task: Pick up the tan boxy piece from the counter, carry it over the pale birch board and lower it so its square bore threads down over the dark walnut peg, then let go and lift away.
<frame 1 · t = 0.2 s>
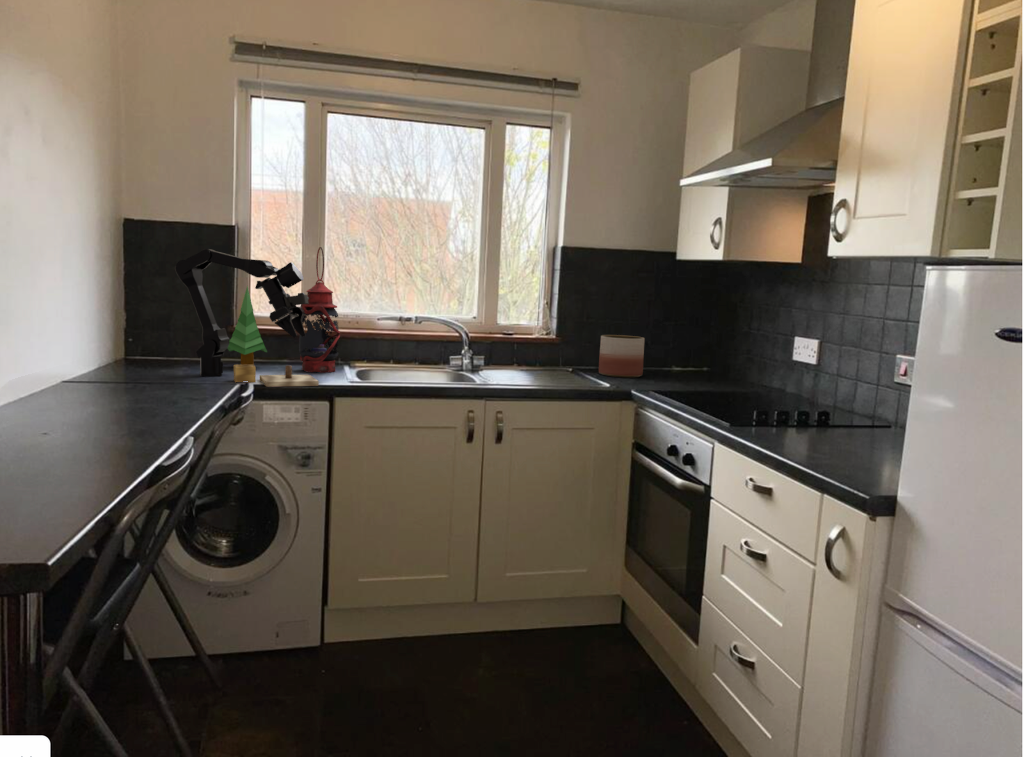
hand: (300, 336, 254), 15 cm above the countertop, tool tilted 30°, fingers open, 9 cm apart
decorative tree: (247, 368, 282), on the countertop
post board: (288, 382, 249), on the countertop
planter: (620, 375, 312), on the countertop
tan boxy piece: (244, 381, 248), on the countertop
lantern: (319, 371, 283), on the countertop
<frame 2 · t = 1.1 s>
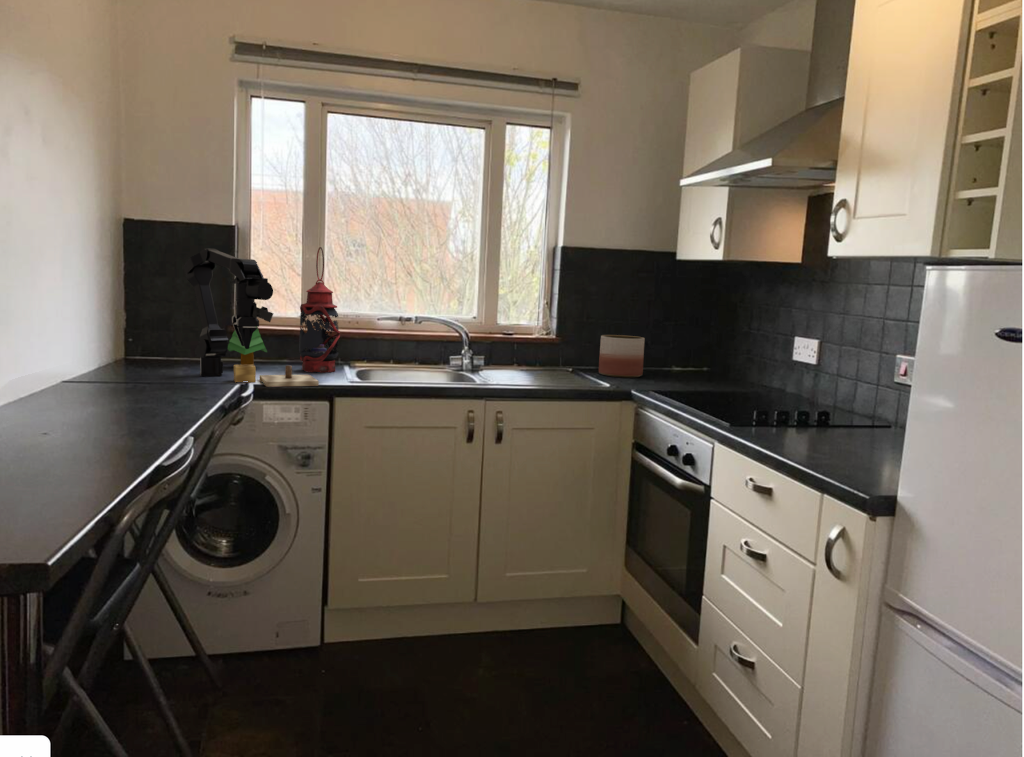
hand: (245, 347, 247), 11 cm above the countertop, tool pointing down, fingers open, 9 cm apart
nothing on the countertop moved.
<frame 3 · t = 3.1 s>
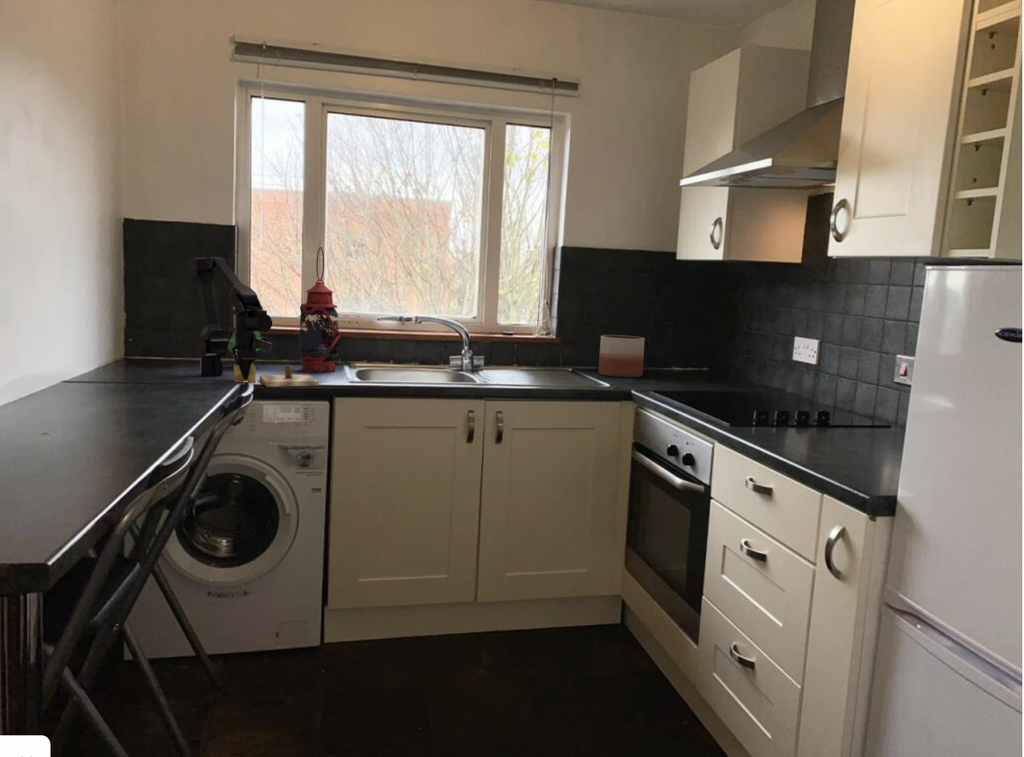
hand: (244, 378, 248), 1 cm above the countertop, tool pointing down, fingers closed on tan boxy piece, 6 cm apart
tan boxy piece: (244, 381, 248), on the countertop, touching gripper
everything else where it was.
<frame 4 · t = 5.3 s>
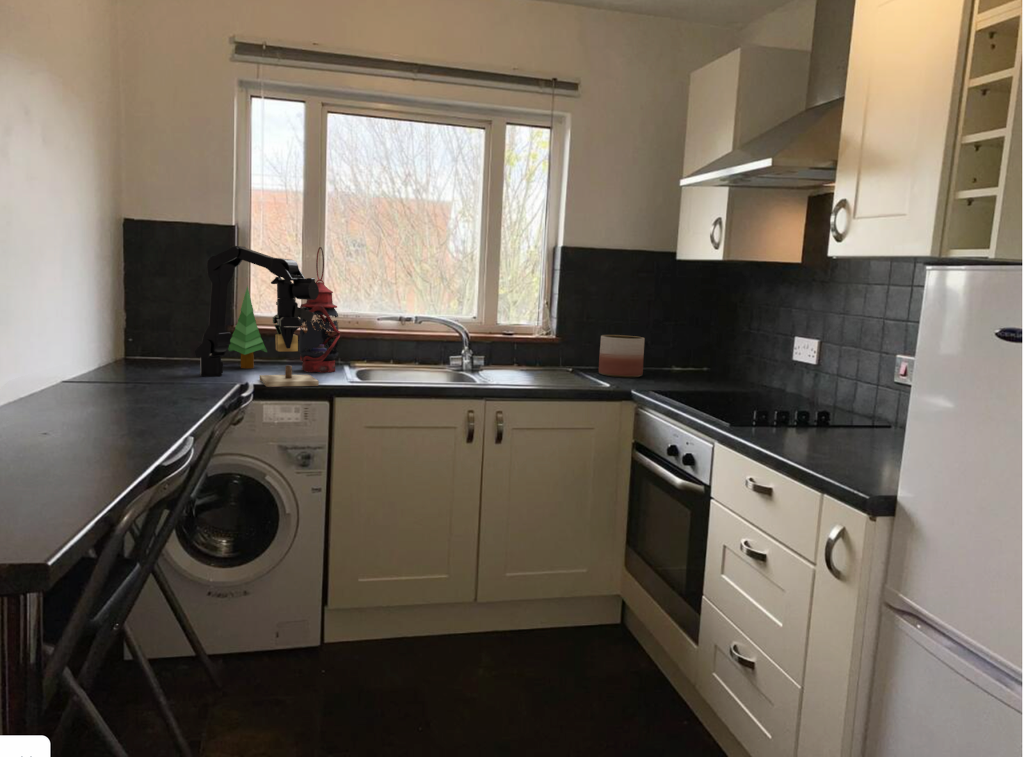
hand: (286, 347, 247), 11 cm above the countertop, tool pointing down, fingers closed on tan boxy piece, 6 cm apart
tan boxy piece: (286, 350, 248), point 10 cm above the countertop, touching gripper
everything else where it was.
when the fingers open (4 cm above the countertop, at t = 7.9 s): tan boxy piece drops 2 cm, resting on post board.
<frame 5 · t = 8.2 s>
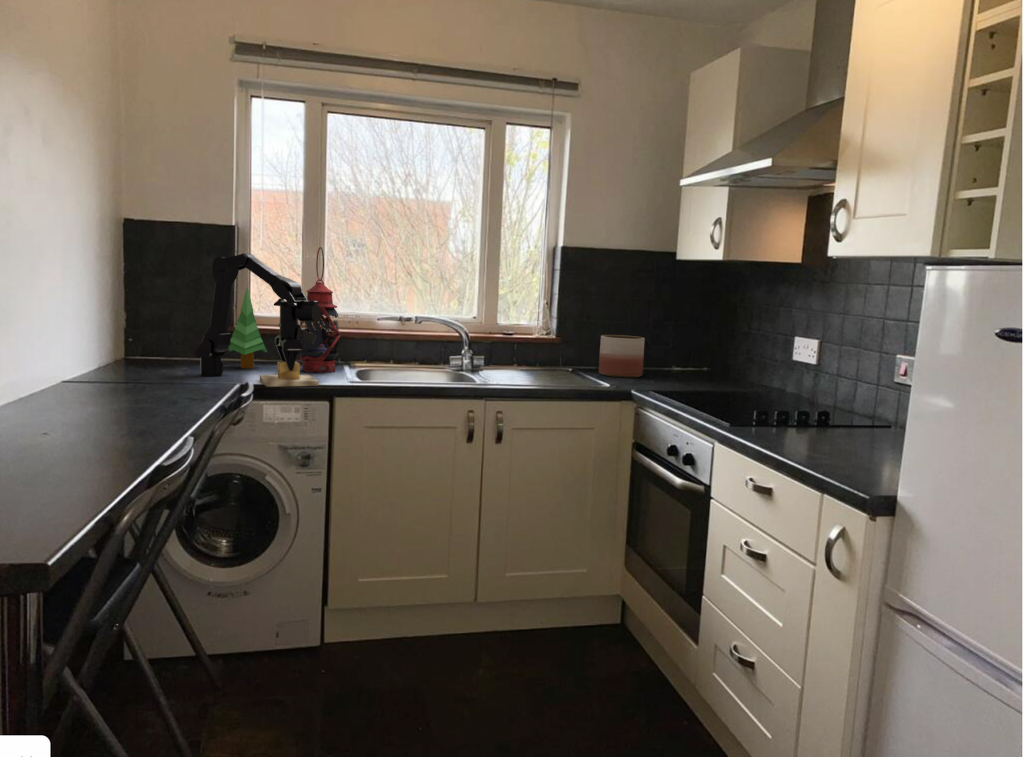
hand: (288, 368, 249), 4 cm above the countertop, tool pointing down, fingers open, 9 cm apart
tan boxy piece: (288, 378, 249), point 1 cm above the countertop, touching post board
everything else where it was.
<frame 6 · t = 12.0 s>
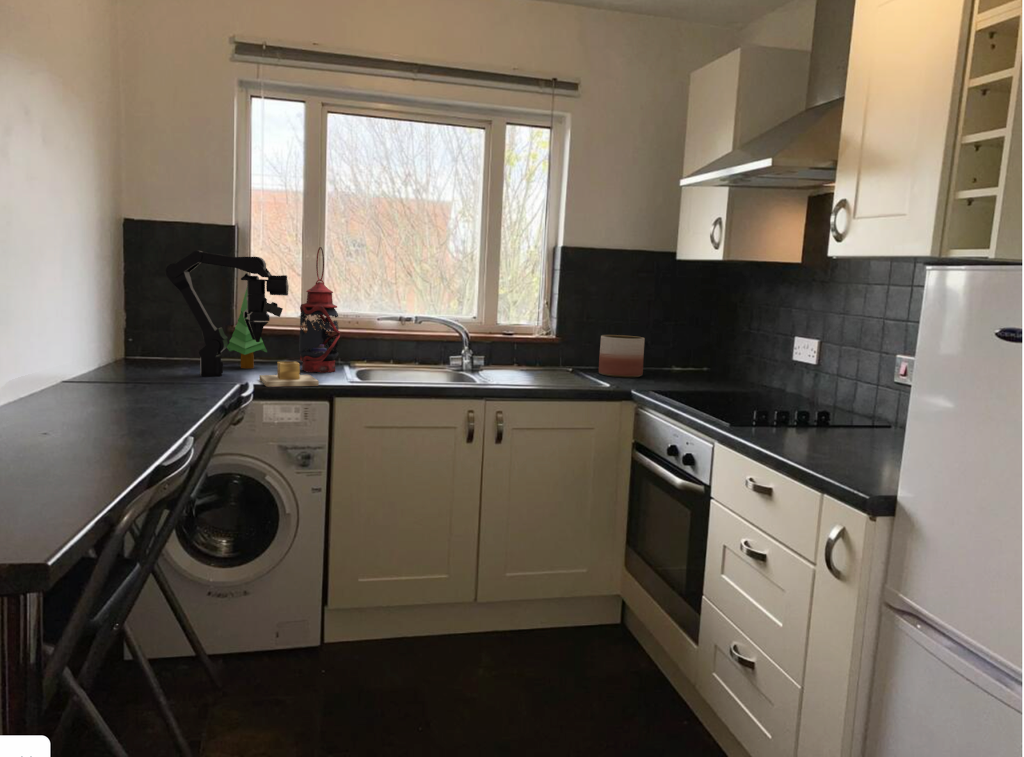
hand: (256, 340, 259), 12 cm above the countertop, tool pointing down, fingers open, 9 cm apart
nothing on the countertop moved.
at the end: tan boxy piece 0.0 cm off-centre on the post board, point 1.5 cm above the post board's base; tan boxy piece tilted 0°; the gripper is holding nothing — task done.
